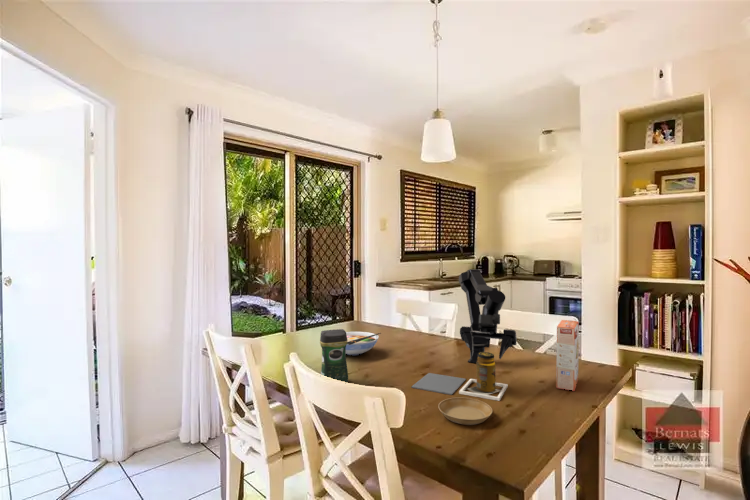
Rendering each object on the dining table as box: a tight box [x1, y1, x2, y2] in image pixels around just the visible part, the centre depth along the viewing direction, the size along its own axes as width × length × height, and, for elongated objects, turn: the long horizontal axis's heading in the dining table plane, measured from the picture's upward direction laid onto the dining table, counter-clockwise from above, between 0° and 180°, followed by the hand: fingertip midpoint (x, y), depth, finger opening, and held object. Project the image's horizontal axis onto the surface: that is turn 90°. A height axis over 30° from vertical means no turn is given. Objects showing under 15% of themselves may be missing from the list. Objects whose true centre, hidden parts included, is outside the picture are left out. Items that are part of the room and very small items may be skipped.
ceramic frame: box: [458, 378, 508, 402], centre depth 128 cm, size 14×13×1 cm
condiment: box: [466, 351, 502, 396], centre depth 128 cm, size 7×8×12 cm
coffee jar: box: [319, 328, 349, 383], centre depth 136 cm, size 10×8×19 cm
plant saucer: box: [437, 396, 493, 426], centre depth 109 cm, size 15×15×3 cm
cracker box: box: [555, 319, 580, 392], centre depth 133 cm, size 14×6×21 cm, turn 148°
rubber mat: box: [411, 372, 467, 396], centre depth 134 cm, size 16×14×1 cm
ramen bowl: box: [346, 331, 382, 356], centre depth 174 cm, size 25×23×8 cm
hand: (485, 356), depth 131 cm, fingers open, 9 cm apart
